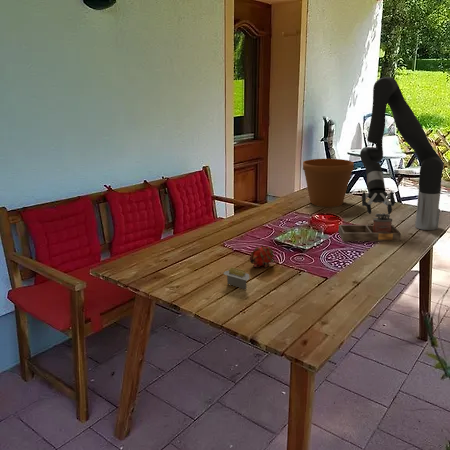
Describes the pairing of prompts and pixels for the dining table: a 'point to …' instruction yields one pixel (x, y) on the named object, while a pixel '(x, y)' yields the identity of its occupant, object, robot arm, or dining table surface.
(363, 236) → the divided wooden tray
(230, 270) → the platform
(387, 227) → the lighter
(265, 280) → the dining table surface
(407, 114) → the robot arm
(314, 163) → the flowerpot
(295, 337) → the dining table surface
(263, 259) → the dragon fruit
